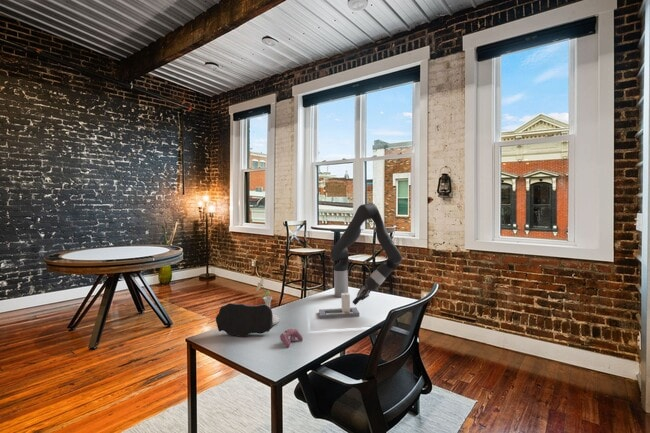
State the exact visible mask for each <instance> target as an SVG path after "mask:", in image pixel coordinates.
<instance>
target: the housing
mask: <svg viewBox="0 0 650 433" xmlns="http://www.w3.org/2000/svg"><path fill="white" fill-rule="evenodd" d="M318 313H319V314H318V315H319V319H320V320H321V319H337V318H339V319H340V318H354V317H357V318H358V317H360V312H359V310H358V308H357V307H350V312H343V313H342V307H341V308H340V307H339V308H324V309H323V308H322V309H318Z"/></svg>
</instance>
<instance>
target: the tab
mask: <svg viewBox="0 0 650 433" xmlns="http://www.w3.org/2000/svg"><path fill="white" fill-rule="evenodd" d="M340 298H341V308H342V313H343V312H350V308H351V297H350V293H349V292H348V293H341V297H340Z"/></svg>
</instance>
